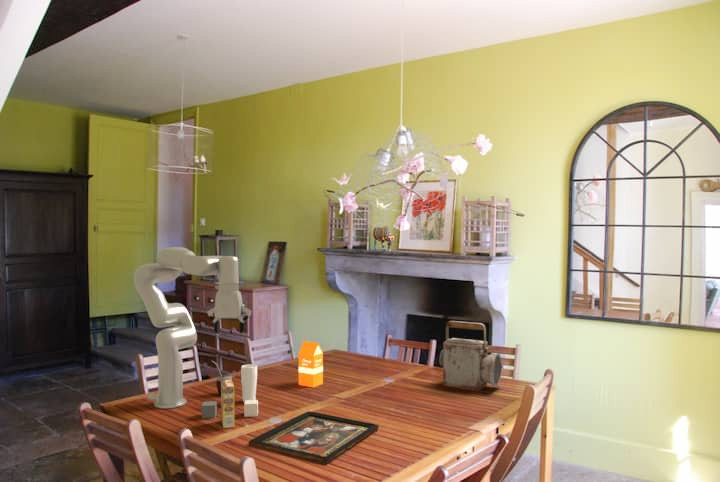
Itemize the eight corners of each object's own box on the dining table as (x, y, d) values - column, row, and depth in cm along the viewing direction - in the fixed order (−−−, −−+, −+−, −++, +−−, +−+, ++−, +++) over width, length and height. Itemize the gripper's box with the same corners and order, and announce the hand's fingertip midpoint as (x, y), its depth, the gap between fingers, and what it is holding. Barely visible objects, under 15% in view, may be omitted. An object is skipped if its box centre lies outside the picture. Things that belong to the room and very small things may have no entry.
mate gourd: (235, 394, 239) (235, 360, 239) (219, 397, 233) (219, 363, 233) (226, 390, 244) (226, 357, 244) (211, 394, 239) (211, 360, 238)
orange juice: (313, 387, 250) (313, 344, 250) (298, 384, 255) (298, 342, 255) (323, 383, 257) (323, 341, 257) (308, 381, 261) (308, 339, 261)
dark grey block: (201, 418, 207) (201, 405, 207) (203, 414, 212) (203, 401, 212) (215, 418, 207) (215, 405, 207) (216, 414, 212) (216, 401, 212)
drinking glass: (253, 404, 224) (253, 368, 224) (238, 403, 226) (238, 367, 226) (259, 399, 231) (259, 364, 231) (244, 398, 232) (244, 363, 232)
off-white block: (244, 417, 209) (244, 404, 209) (245, 412, 214) (245, 400, 214) (257, 416, 210) (257, 403, 210) (258, 412, 215) (258, 399, 214)
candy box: (234, 427, 197) (235, 385, 197) (222, 428, 196) (223, 386, 196) (231, 419, 206) (232, 379, 206) (220, 420, 204) (220, 380, 204)
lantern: (493, 394, 240) (493, 326, 240) (436, 385, 254) (436, 321, 254) (502, 385, 254) (503, 322, 254) (448, 378, 268) (448, 317, 267)
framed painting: (298, 415, 212) (298, 407, 212) (382, 428, 199) (382, 420, 199) (241, 451, 177) (241, 442, 177) (339, 470, 164) (339, 461, 164)
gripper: (203, 289, 205) (204, 334, 205) (247, 288, 203) (248, 334, 203) (210, 287, 213) (211, 331, 212) (253, 287, 211) (254, 331, 211)
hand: (229, 332), depth 208 cm, fingers open, 9 cm apart
